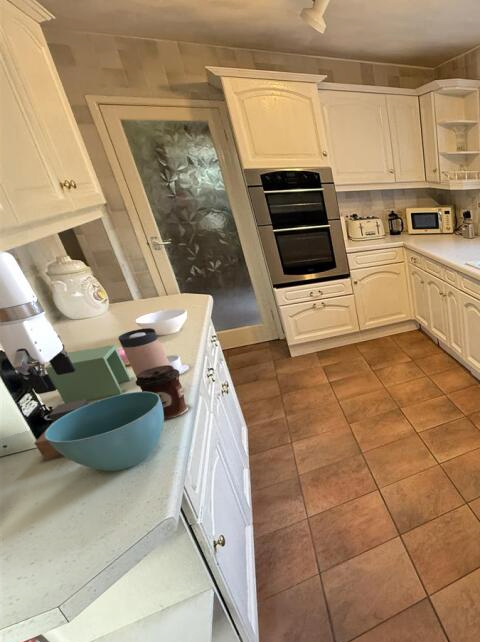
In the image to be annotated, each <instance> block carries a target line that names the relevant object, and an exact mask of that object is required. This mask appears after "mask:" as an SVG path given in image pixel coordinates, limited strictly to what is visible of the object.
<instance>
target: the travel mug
mask: <svg viewBox="0 0 480 642" xmlns="http://www.w3.org/2000/svg"><path fill="white" fill-rule="evenodd" d="M118 340H119V343H120V345H121V347H122V349H123V350H124V352H125V354H126V356H127V358H128V360H129V363H130V365H129V366H130V367H131V369H132V371H133V373H134V375H135V378H136V379H137V375H138V374H139V373H140V372H142V371H144V370H147V369H151V368H155V367H158V366H165V365H170V364H169V361H168V359H167V357H166V356H167V355H166V352H165V350H164V348H163V346H162V343H161V341H160V339H159V336H158V335H157V334H156V332H155V330H154V329H152V328H145V329H143V328H137V329H134V330H131V331H127V332H124V333H121V334H120V335H119V336H118Z"/></svg>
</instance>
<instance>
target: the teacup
mask: <svg viewBox="0 0 480 642" xmlns="http://www.w3.org/2000/svg"><path fill="white" fill-rule="evenodd" d="M166 357H167V359H168V361H169V364H170V366H173V368H174V369H177V370H178V371H179V375H182V374H183V373H185V372H187V371H188V370H189V369H190V367H189V365H188V364H182V361H181V357H180V355H178V354H171V355H170V354H169V355H166Z"/></svg>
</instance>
